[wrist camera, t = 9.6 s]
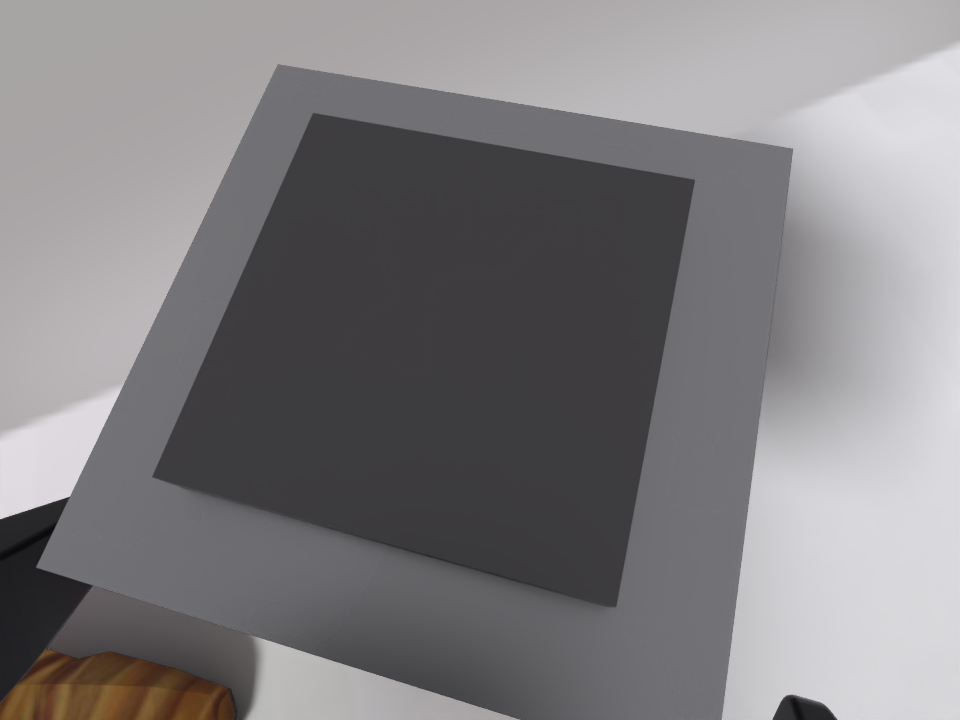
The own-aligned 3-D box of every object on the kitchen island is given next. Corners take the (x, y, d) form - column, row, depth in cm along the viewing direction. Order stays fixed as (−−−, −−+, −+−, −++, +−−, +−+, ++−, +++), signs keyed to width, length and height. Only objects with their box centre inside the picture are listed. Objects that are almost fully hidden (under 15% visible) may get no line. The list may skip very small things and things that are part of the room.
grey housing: (583, 661, 16) (734, 798, 4) (358, 594, 17) (-7, 563, 5) (628, 433, 18) (813, 115, 6) (424, 385, 19) (261, 29, 7)
